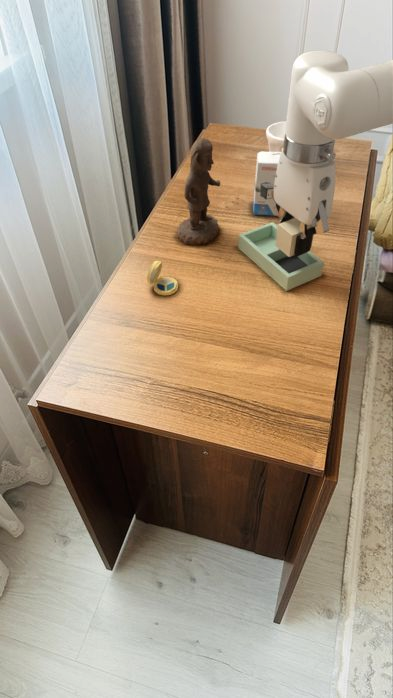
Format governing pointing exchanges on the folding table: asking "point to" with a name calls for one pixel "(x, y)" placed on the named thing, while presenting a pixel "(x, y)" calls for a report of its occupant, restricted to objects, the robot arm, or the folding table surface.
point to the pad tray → (279, 258)
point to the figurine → (199, 197)
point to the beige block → (288, 236)
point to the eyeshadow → (161, 280)
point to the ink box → (265, 183)
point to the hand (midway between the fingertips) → (293, 245)
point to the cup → (276, 136)
